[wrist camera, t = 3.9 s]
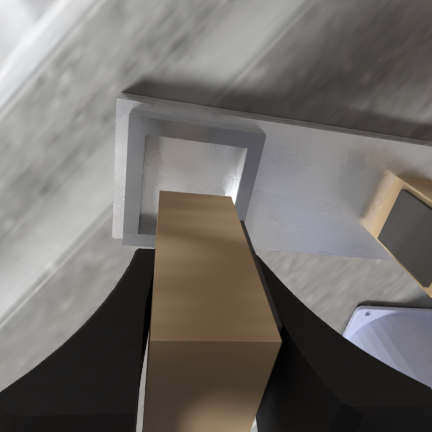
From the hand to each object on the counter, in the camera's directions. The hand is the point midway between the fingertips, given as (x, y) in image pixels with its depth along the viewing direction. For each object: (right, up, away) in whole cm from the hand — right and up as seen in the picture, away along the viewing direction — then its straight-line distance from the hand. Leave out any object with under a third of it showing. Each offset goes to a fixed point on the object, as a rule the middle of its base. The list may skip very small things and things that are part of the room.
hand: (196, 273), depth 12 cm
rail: (+5, +4, +9) cm, 11 cm away
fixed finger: (+12, +3, +9) cm, 15 cm away
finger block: (0, +1, +2) cm, 2 cm away
